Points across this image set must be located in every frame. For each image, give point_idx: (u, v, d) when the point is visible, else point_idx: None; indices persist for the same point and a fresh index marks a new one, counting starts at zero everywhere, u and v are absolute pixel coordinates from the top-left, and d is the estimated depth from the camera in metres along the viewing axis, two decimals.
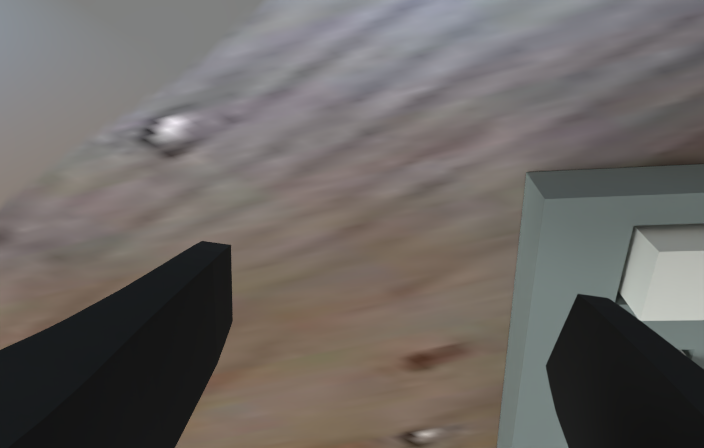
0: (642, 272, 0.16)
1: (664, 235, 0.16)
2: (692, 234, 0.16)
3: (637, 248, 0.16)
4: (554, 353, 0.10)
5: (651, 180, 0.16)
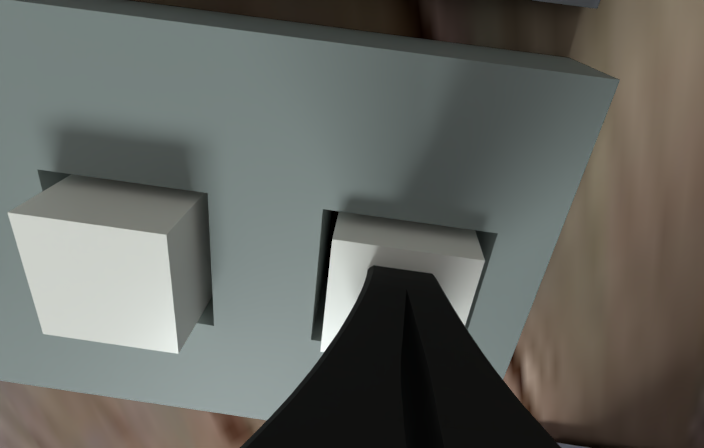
0: None
1: None
2: None
3: None
4: None
5: None
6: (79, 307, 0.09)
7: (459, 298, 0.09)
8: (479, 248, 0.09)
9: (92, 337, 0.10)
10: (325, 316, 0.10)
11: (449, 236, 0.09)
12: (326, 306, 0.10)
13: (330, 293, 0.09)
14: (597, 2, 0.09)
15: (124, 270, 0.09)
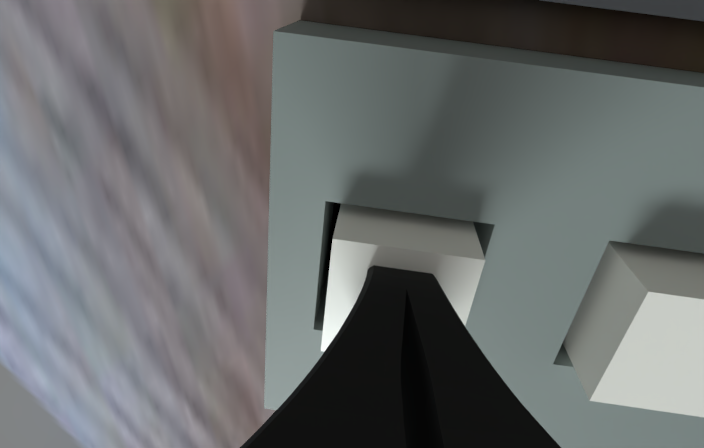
0: None
1: None
2: None
3: None
4: None
5: None
6: (652, 377, 0.09)
7: None
8: None
9: (634, 403, 0.10)
10: None
11: None
12: None
13: None
14: None
15: None
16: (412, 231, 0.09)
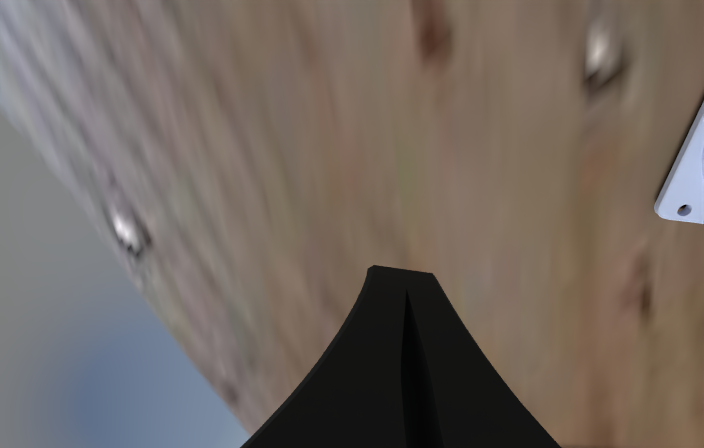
0: None
1: None
2: None
3: None
4: None
5: None
6: None
7: None
8: None
9: None
10: None
11: None
12: None
13: None
14: None
15: None
16: None
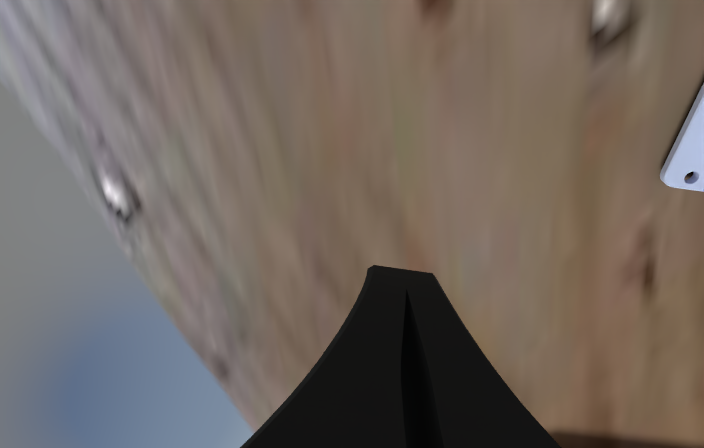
0: None
1: None
2: None
3: None
4: None
5: None
6: None
7: None
8: None
9: None
10: None
11: None
12: None
13: None
14: None
15: None
16: None
